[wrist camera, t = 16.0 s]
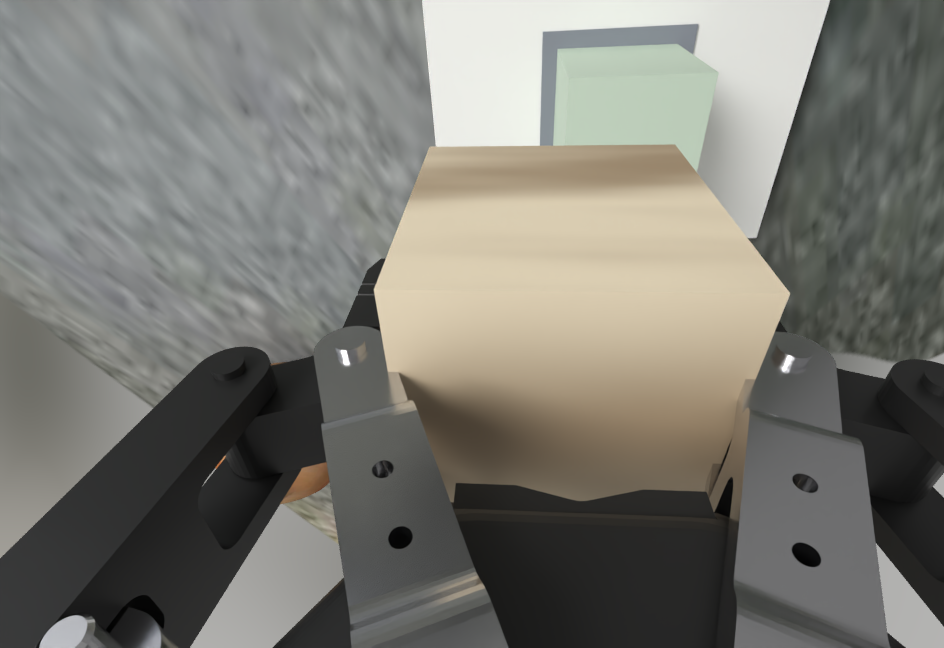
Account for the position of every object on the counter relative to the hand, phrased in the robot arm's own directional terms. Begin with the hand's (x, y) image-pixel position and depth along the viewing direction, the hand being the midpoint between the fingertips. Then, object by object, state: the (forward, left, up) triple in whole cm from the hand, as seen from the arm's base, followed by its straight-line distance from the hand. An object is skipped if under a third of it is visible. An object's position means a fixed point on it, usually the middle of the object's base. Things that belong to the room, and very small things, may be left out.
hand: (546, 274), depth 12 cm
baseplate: (+1, +4, -18) cm, 18 cm away
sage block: (+1, +4, -17) cm, 17 cm away
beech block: (0, 0, -1) cm, 1 cm away
